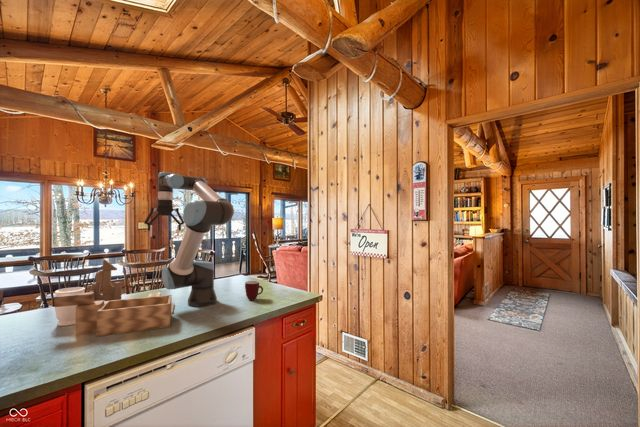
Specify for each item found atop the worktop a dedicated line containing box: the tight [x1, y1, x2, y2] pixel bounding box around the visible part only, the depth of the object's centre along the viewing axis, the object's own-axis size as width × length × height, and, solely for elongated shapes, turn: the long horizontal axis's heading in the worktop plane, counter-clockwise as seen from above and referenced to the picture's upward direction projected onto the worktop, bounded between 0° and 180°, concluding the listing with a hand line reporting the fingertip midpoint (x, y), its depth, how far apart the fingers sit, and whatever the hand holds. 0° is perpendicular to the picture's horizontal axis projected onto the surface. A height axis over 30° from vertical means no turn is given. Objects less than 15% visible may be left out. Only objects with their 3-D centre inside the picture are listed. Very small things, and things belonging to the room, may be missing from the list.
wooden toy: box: [89, 258, 123, 302], centre depth 155 cm, size 16×7×25 cm, turn 121°
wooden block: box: [53, 291, 95, 308], centre depth 120 cm, size 12×4×4 cm, turn 115°
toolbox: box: [74, 294, 173, 337], centre depth 128 cm, size 34×16×12 cm, turn 115°
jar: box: [54, 286, 86, 327], centre depth 131 cm, size 11×10×15 cm
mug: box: [244, 280, 264, 301], centre depth 172 cm, size 10×8×10 cm
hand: (164, 236), depth 167 cm, fingers open, 13 cm apart
